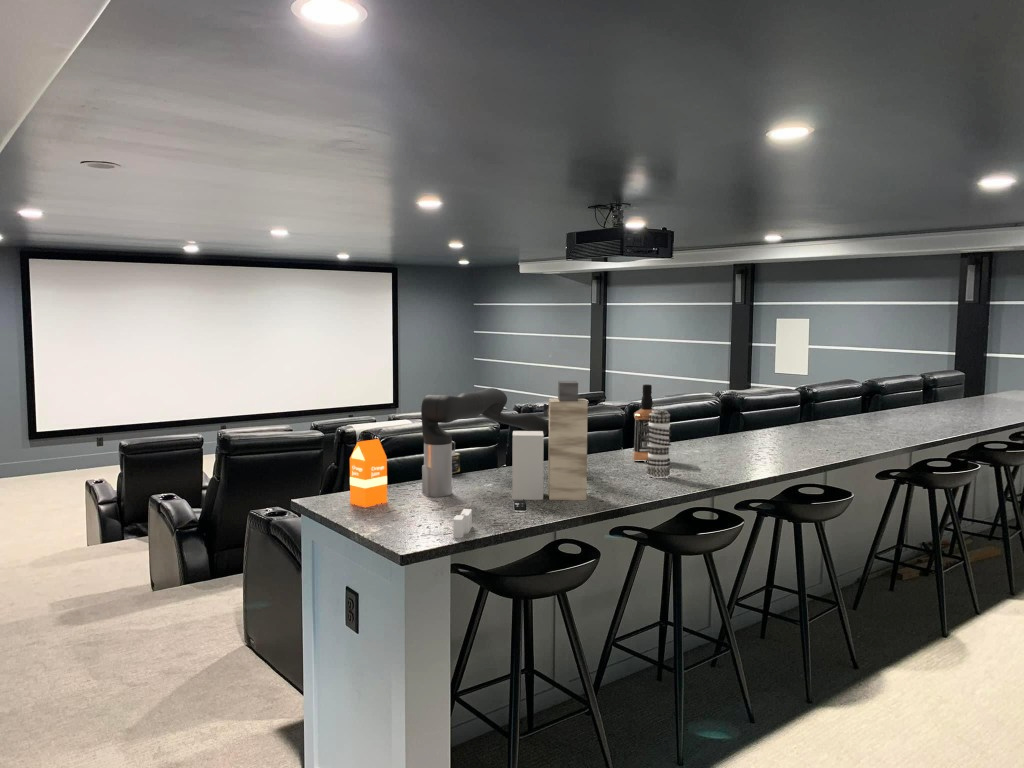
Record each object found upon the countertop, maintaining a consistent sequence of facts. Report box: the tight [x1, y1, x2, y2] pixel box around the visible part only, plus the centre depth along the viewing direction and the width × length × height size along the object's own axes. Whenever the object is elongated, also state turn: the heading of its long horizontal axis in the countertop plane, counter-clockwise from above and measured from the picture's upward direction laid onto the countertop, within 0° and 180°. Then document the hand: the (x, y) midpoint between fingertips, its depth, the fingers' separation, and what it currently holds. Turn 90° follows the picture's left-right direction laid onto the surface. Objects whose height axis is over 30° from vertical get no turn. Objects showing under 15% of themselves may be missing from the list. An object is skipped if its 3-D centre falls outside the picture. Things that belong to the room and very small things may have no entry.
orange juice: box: [349, 438, 388, 508], centre depth 231 cm, size 8×9×20 cm
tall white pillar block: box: [511, 430, 545, 501], centre depth 241 cm, size 10×10×21 cm
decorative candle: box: [646, 409, 672, 477], centre depth 274 cm, size 9×9×25 cm
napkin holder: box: [452, 508, 473, 539], centre depth 200 cm, size 15×11×6 cm
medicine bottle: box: [452, 440, 461, 474], centre depth 281 cm, size 7×7×12 cm
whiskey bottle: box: [632, 384, 654, 461], centre depth 307 cm, size 10×10×32 cm
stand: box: [547, 398, 589, 501], centre depth 241 cm, size 10×12×32 cm
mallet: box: [557, 380, 579, 401], centre depth 245 cm, size 19×6×6 cm, turn 179°
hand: (563, 402), depth 262 cm, fingers open, 8 cm apart
